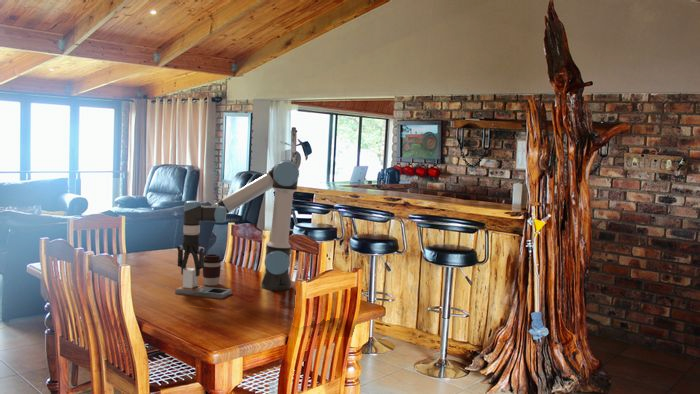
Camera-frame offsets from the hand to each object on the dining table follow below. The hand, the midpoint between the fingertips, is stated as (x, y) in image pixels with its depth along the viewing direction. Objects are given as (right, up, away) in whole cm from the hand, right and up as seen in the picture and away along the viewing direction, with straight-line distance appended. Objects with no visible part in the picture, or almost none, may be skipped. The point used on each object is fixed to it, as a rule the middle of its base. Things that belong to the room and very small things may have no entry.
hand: (190, 282), depth 278 cm
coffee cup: (+6, -4, +19) cm, 20 cm away
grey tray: (+7, -6, -1) cm, 9 cm away
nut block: (0, -3, 0) cm, 3 cm away
